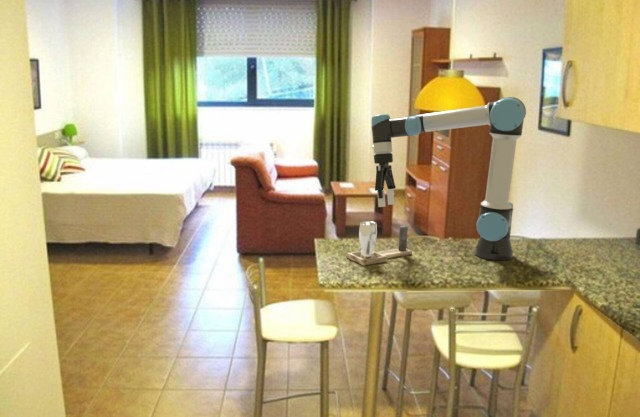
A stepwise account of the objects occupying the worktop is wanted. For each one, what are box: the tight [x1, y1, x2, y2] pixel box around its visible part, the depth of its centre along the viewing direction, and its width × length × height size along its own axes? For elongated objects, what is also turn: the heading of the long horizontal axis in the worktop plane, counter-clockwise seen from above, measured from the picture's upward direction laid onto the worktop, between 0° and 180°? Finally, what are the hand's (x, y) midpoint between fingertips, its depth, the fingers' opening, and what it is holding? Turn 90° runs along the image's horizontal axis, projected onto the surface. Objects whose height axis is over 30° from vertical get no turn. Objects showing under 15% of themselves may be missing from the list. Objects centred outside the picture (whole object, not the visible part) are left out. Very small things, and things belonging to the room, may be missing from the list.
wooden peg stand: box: [346, 225, 413, 266], centre depth 240 cm, size 11×27×12 cm, turn 122°
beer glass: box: [358, 220, 378, 259], centre depth 236 cm, size 7×7×15 cm
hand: (386, 205), depth 243 cm, fingers open, 13 cm apart
